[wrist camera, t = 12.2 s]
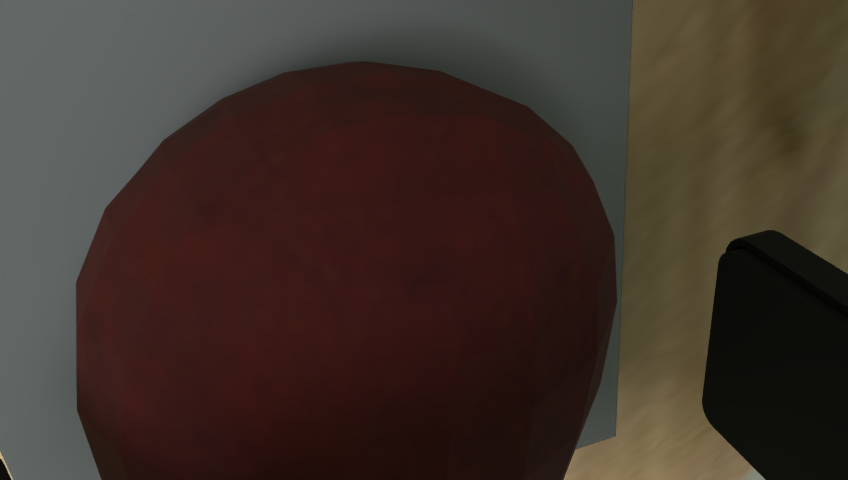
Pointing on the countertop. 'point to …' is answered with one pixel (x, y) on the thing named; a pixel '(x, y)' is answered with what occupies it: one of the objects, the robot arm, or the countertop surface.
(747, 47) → the countertop surface
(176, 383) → the potato
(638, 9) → the countertop surface
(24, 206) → the mat
